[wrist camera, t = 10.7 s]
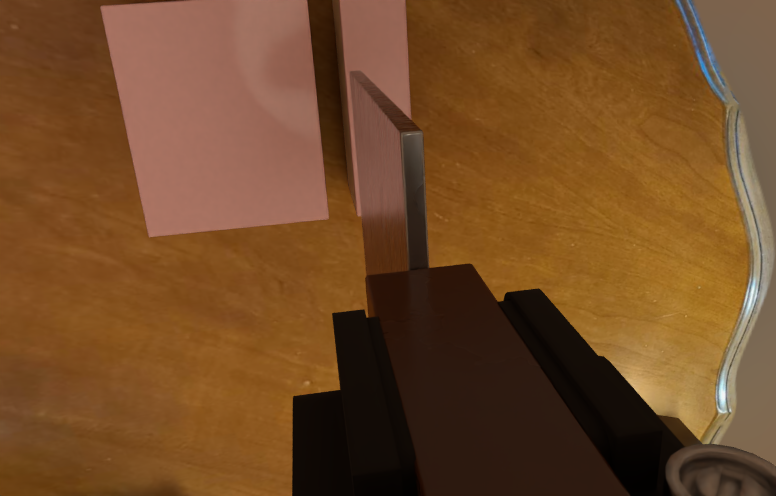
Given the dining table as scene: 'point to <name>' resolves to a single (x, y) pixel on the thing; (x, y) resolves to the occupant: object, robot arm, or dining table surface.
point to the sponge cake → (219, 112)
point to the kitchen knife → (456, 341)
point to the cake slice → (370, 62)
